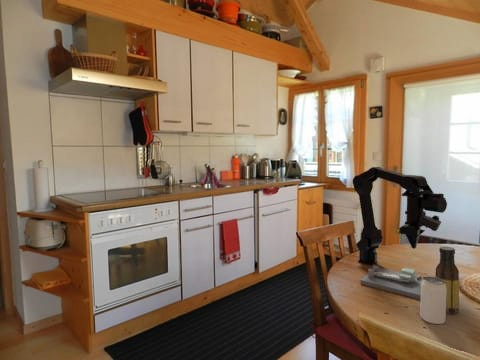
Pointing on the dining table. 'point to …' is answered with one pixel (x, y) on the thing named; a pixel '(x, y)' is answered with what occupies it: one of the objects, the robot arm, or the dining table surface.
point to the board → (393, 283)
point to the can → (433, 300)
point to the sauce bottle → (449, 278)
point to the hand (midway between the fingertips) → (413, 248)
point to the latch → (407, 274)
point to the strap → (390, 276)
